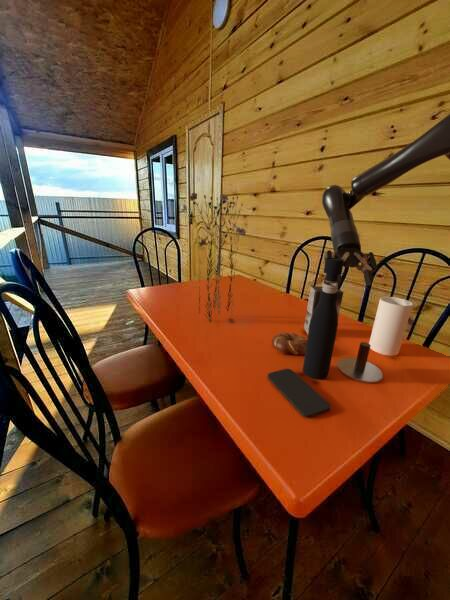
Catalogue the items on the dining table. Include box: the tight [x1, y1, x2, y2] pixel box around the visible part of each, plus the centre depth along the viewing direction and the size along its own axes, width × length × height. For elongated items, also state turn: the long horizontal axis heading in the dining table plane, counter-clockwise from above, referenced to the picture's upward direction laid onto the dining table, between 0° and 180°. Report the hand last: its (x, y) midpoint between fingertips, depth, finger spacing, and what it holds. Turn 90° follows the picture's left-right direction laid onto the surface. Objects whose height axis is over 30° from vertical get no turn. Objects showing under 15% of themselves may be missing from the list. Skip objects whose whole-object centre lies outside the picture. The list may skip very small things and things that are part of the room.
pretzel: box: [271, 332, 307, 356], centre depth 78 cm, size 12×11×4 cm
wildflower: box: [189, 192, 246, 323], centre depth 91 cm, size 22×23×45 cm
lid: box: [336, 341, 384, 385], centre depth 67 cm, size 11×11×8 cm
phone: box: [267, 368, 332, 418], centre depth 59 cm, size 7×1×15 cm
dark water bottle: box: [302, 257, 344, 381], centre depth 62 cm, size 6×6×30 cm
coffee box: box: [303, 285, 344, 335], centre depth 87 cm, size 9×6×16 cm
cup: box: [368, 296, 414, 357], centre depth 77 cm, size 8×8×16 cm
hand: (354, 283), depth 72 cm, fingers open, 8 cm apart
